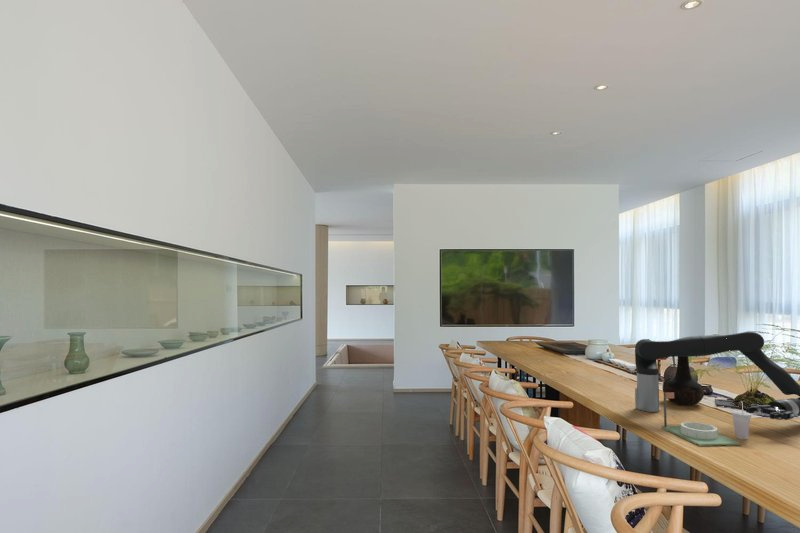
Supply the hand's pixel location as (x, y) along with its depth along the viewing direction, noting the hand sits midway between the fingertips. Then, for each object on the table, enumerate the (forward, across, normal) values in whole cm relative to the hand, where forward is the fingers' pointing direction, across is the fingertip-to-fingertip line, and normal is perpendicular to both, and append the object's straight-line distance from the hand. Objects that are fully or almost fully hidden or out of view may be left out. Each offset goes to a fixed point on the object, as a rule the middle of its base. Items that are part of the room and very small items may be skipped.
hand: (758, 413), depth 185 cm
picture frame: (-39, -31, +9) cm, 51 cm away
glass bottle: (-18, -45, +8) cm, 49 cm away
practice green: (+25, -8, +8) cm, 27 cm away
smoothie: (+11, 0, +8) cm, 14 cm away
